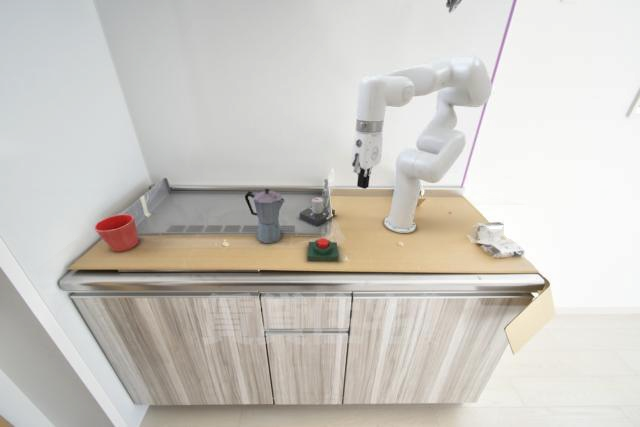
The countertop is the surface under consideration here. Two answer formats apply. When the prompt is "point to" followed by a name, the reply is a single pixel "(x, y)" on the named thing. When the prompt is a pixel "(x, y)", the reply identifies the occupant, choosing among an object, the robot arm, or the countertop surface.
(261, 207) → the moka pot
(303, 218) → the stove panel
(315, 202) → the stove knob
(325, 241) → the button
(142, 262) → the countertop surface
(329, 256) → the button block
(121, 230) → the flower pot
